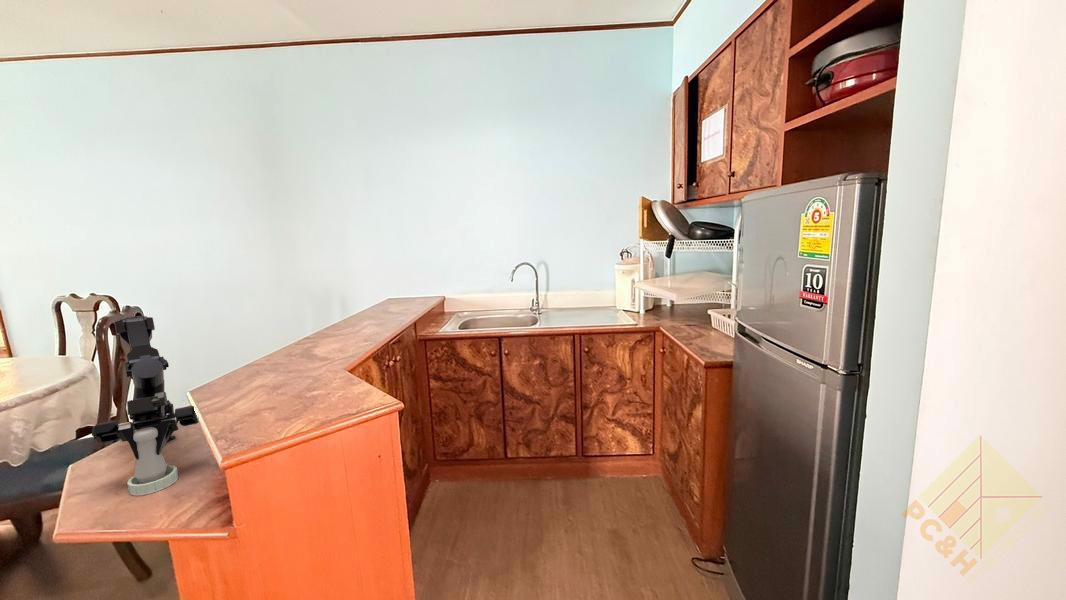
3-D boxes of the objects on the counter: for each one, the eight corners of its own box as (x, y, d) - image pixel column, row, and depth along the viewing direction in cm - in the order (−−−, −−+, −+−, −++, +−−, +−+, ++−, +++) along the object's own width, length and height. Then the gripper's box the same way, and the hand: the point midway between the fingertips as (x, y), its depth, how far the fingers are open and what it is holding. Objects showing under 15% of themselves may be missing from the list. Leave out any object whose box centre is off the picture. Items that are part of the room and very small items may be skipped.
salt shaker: (148, 488, 98) (140, 436, 96) (129, 485, 99) (121, 434, 97) (174, 474, 104) (167, 425, 102) (155, 471, 105) (148, 423, 103)
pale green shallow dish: (158, 473, 107) (156, 463, 106) (187, 475, 105) (185, 466, 105) (119, 493, 98) (117, 484, 98) (149, 497, 97) (148, 487, 96)
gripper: (86, 391, 96) (79, 457, 89) (190, 375, 106) (191, 432, 99) (102, 412, 104) (97, 473, 96) (197, 395, 114) (199, 449, 107)
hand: (147, 456), depth 99 cm, fingers closed on salt shaker, 3 cm apart
